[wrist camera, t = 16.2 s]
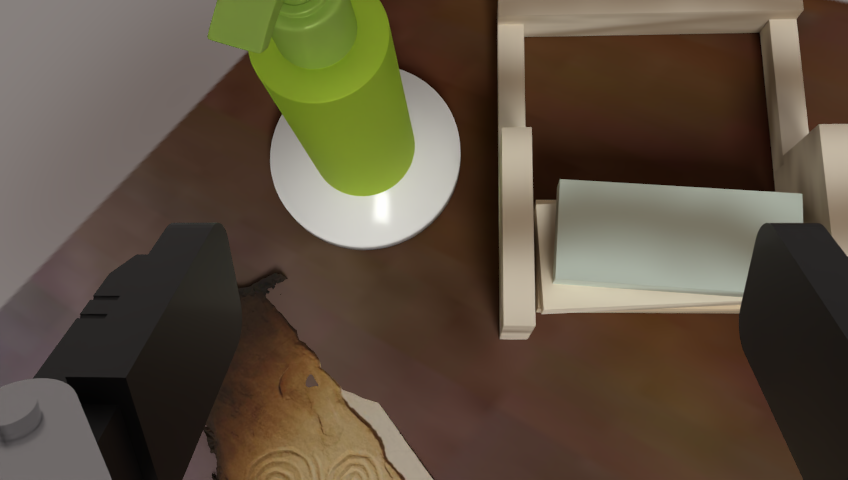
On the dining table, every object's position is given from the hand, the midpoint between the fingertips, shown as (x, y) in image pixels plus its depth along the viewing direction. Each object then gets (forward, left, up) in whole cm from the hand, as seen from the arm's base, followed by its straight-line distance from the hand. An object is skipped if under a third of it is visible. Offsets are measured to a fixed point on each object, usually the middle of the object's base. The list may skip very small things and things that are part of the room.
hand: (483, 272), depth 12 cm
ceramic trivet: (+1, +14, -31) cm, 34 cm away
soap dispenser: (+1, +14, -30) cm, 33 cm away
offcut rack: (+15, +6, -31) cm, 35 cm away
